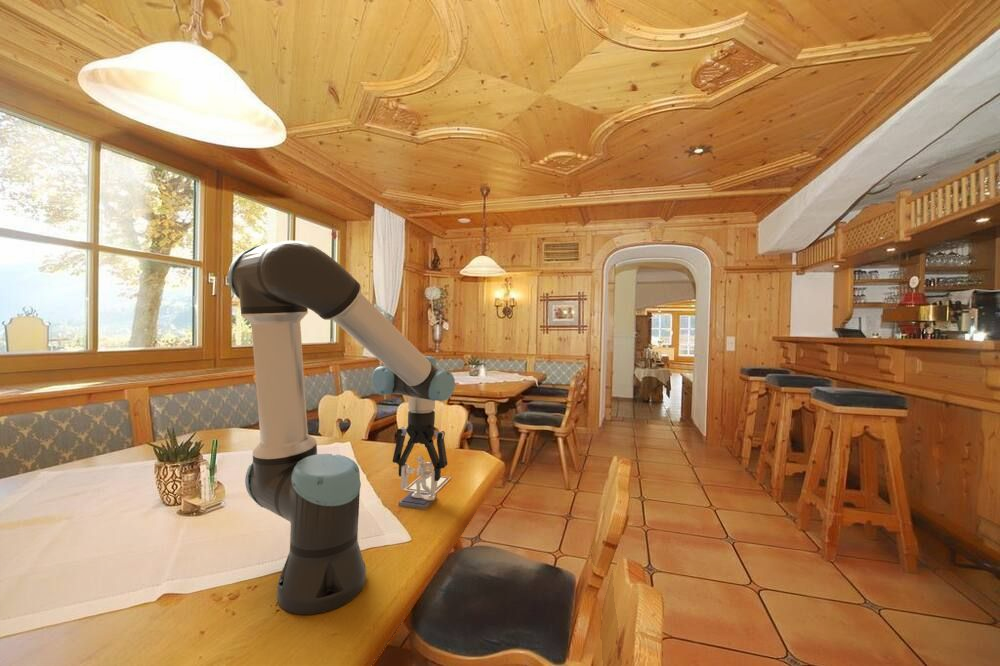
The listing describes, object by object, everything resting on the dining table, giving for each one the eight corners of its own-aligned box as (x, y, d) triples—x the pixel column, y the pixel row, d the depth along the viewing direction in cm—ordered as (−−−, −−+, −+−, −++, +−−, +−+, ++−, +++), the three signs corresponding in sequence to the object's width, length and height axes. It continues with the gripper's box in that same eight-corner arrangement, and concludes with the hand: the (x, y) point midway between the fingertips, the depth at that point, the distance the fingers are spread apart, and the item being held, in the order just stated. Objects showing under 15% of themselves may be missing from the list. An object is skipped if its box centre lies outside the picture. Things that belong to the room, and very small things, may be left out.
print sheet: (434, 494, 118) (434, 493, 118) (403, 490, 120) (403, 489, 120) (450, 478, 131) (450, 477, 131) (422, 474, 133) (422, 473, 133)
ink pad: (425, 509, 108) (425, 505, 108) (398, 505, 109) (398, 501, 109) (436, 498, 115) (436, 493, 115) (411, 494, 117) (411, 490, 117)
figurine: (433, 502, 110) (436, 459, 110) (401, 499, 110) (403, 456, 110) (437, 495, 114) (440, 453, 114) (406, 492, 115) (408, 451, 115)
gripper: (461, 410, 114) (458, 489, 114) (394, 405, 118) (391, 480, 118) (452, 415, 106) (449, 499, 106) (381, 409, 111) (378, 490, 111)
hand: (418, 489), depth 112 cm, fingers open, 8 cm apart
